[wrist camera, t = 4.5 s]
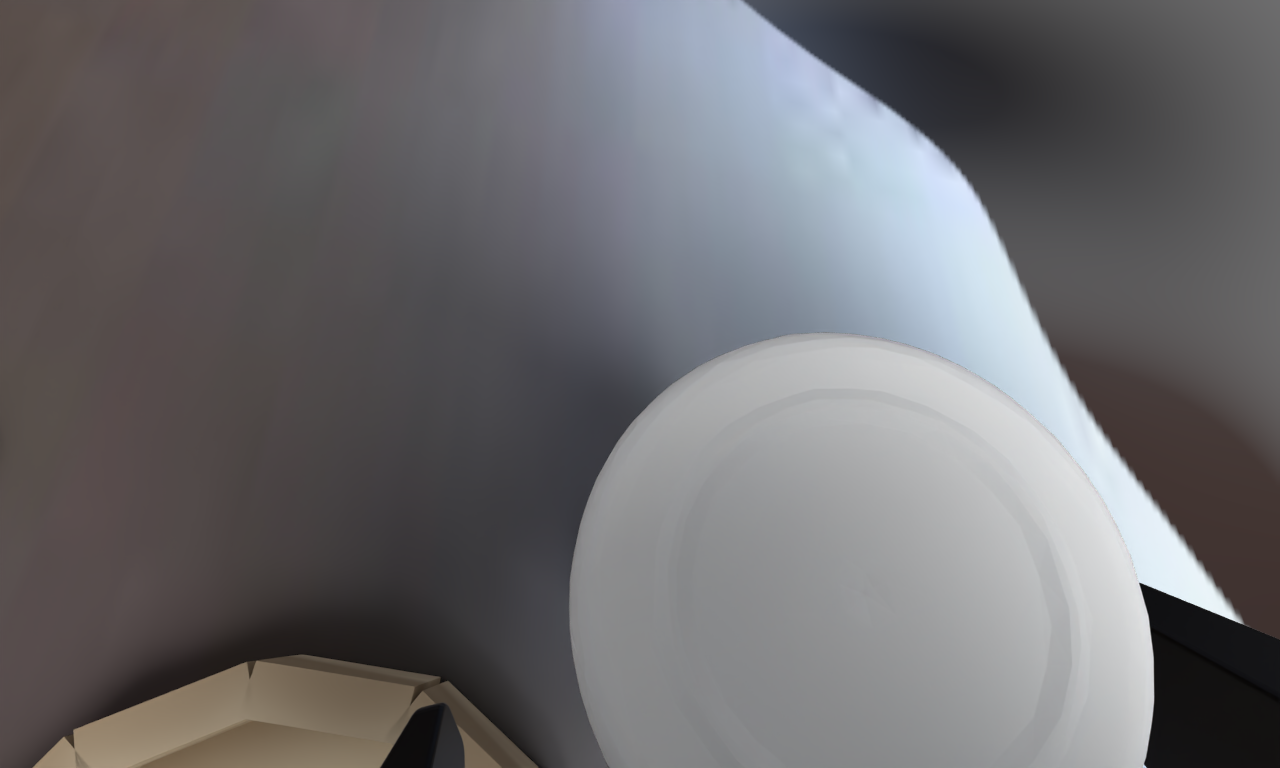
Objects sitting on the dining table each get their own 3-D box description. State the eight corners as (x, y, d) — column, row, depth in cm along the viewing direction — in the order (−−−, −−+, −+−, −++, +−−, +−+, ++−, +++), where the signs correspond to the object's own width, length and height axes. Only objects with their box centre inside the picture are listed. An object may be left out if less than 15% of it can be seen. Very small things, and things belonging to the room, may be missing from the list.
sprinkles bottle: (644, 498, 18) (696, 241, 5) (790, 561, 18) (1217, 434, 5) (579, 653, 17) (443, 788, 4) (737, 727, 16) (1155, 1149, 3)
